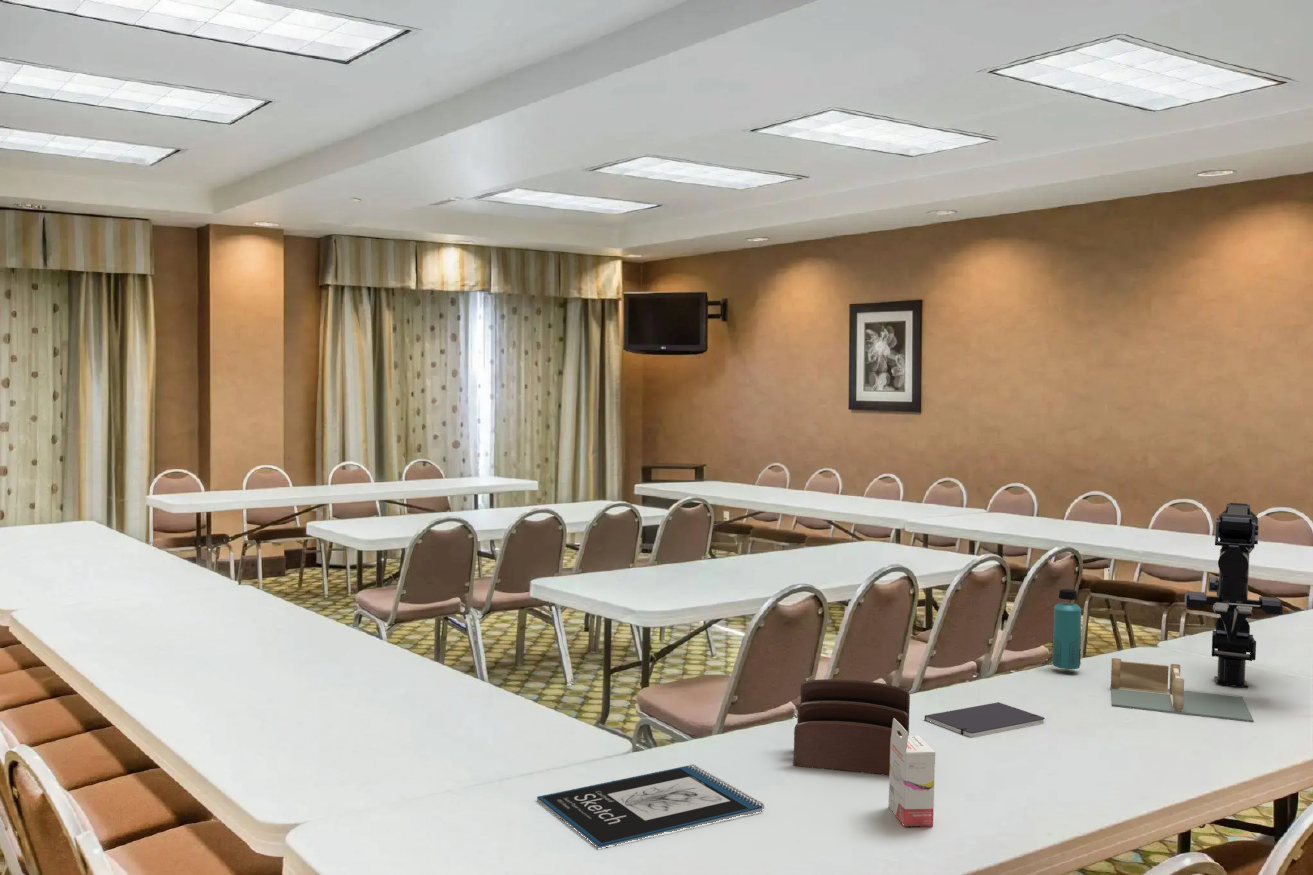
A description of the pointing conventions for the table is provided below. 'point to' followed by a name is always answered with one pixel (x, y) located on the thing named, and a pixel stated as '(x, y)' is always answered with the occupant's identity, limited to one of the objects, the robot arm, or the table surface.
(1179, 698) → the hinged panel
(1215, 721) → the table surface
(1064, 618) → the beverage bottle
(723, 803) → the sketchbook
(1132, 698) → the board
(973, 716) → the notebook
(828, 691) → the letter holder
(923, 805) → the ink cartridge box
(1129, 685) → the fixed fence
